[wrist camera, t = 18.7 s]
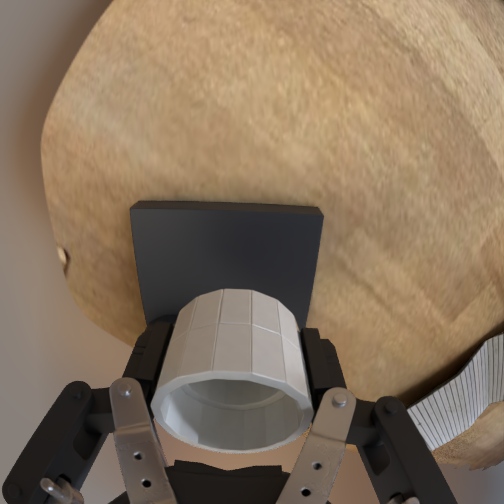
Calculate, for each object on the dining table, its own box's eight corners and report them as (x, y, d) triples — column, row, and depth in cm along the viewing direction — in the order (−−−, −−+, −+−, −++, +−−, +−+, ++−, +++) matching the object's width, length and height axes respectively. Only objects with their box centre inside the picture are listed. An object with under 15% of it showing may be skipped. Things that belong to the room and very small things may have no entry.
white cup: (182, 368, 15) (166, 447, 11) (170, 278, 13) (135, 362, 8) (289, 373, 15) (298, 453, 11) (305, 283, 13) (329, 372, 8)
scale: (155, 352, 25) (145, 380, 22) (132, 200, 19) (111, 218, 16) (293, 359, 25) (297, 389, 22) (318, 206, 19) (331, 226, 16)
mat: (388, 398, 29) (399, 429, 25) (536, 286, 23) (558, 307, 19) (422, 444, 37) (430, 465, 33) (528, 370, 31) (540, 387, 27)
